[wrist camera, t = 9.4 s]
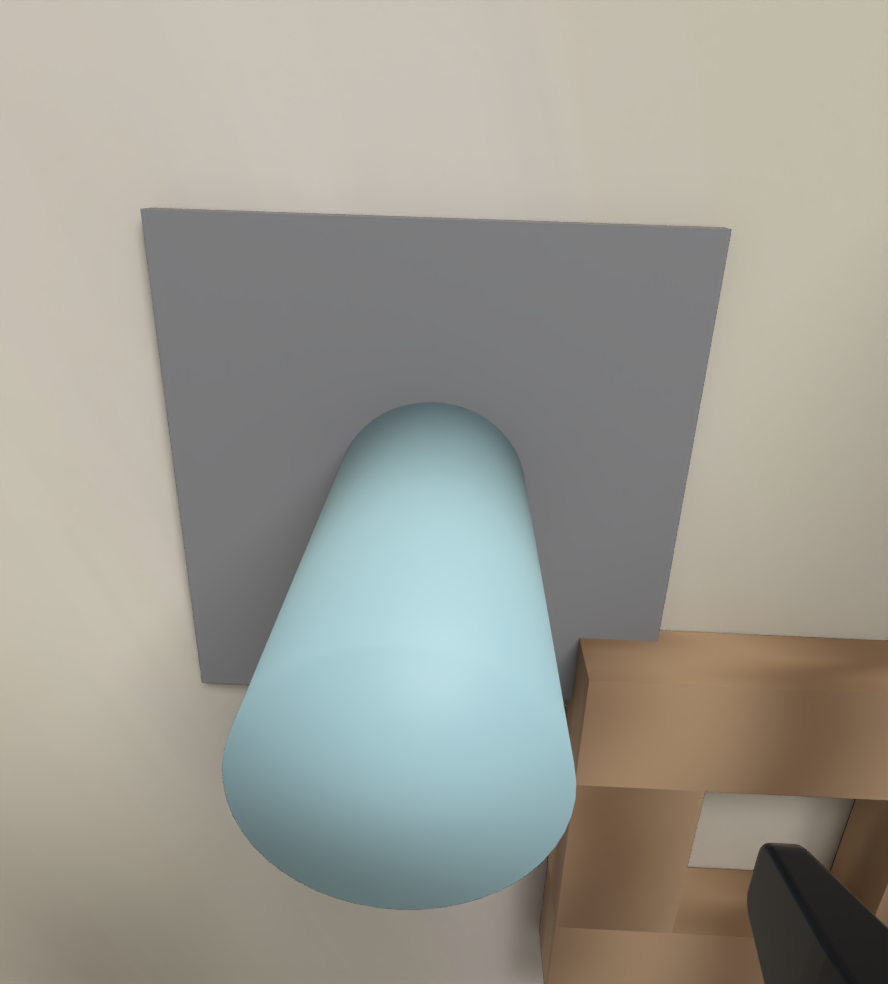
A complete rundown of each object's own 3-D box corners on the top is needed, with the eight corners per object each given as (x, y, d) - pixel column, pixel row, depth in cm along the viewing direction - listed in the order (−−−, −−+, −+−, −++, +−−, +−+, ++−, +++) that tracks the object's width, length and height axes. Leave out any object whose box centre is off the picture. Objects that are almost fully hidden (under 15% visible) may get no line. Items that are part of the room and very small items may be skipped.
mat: (723, 227, 15) (731, 228, 15) (642, 691, 20) (646, 703, 20) (149, 207, 15) (140, 209, 15) (208, 671, 20) (201, 682, 20)
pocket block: (1038, 647, 19) (1105, 704, 17) (906, 950, 24) (946, 1022, 22) (577, 626, 19) (589, 680, 17) (539, 930, 24) (545, 1000, 22)
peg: (532, 405, 16) (595, 654, 8) (518, 575, 18) (558, 917, 10) (336, 398, 16) (204, 637, 8) (341, 568, 18) (238, 902, 10)
